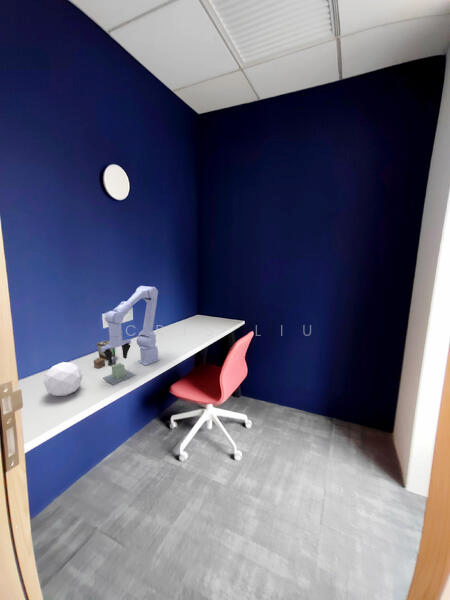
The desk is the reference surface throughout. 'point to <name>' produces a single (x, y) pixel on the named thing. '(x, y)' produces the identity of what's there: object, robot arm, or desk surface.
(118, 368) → the green block
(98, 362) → the walnut cube
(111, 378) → the mat
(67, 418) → the desk surface
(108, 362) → the metal cylinder
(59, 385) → the geometric shape
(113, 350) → the food container
